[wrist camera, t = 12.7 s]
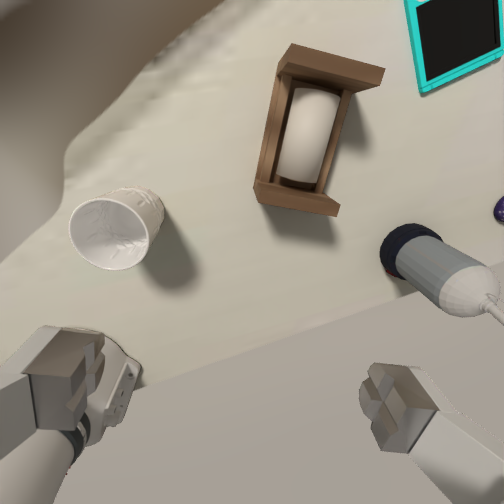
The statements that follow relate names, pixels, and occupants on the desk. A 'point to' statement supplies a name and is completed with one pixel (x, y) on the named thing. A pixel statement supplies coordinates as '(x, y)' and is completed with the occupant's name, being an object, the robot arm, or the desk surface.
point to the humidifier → (441, 272)
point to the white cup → (116, 227)
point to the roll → (307, 134)
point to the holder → (286, 81)
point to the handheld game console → (452, 37)
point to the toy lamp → (499, 210)
